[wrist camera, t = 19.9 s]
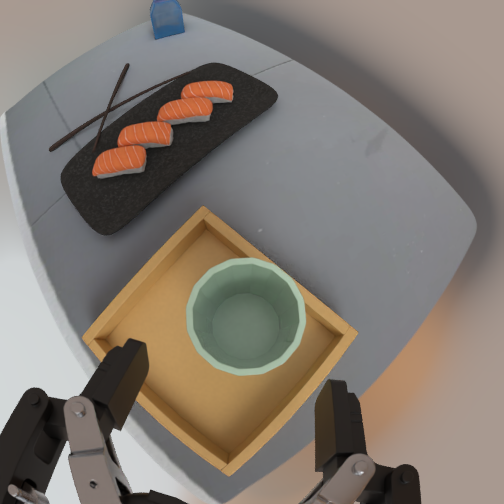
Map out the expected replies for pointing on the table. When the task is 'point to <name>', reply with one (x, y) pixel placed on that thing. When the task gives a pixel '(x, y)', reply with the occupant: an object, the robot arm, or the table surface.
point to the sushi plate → (158, 141)
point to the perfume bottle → (166, 18)
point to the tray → (196, 367)
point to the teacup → (245, 316)
